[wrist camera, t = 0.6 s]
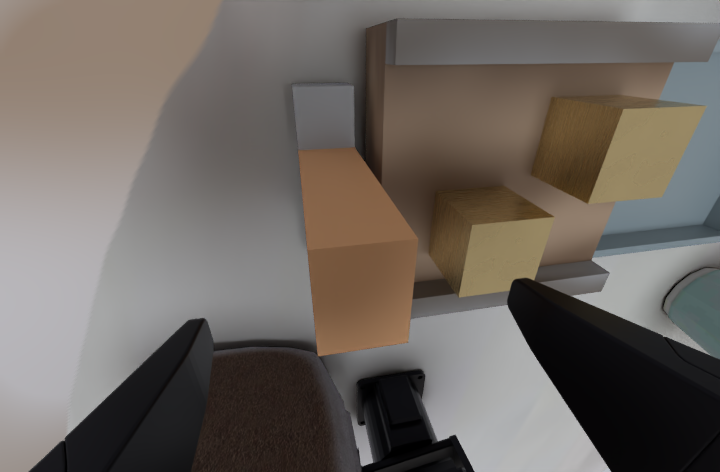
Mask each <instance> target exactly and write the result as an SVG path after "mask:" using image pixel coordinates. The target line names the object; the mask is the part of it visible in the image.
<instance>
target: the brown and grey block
mask: <svg viewBox="0 0 720 472" xmlns="http://www.w3.org/2000/svg"><path fill="white" fill-rule="evenodd" d="M292 92H293V103H294V113H295V123H296V133H297V144H298V154H299V165H300V176H301V186H302V197H303V208H304V219H305V230H306V240H307V251H308V261H309V272H310V282H311V292H312V302H313V312H314V322H315V333H316V343H317V353H318V356H325V355H331V354H338V353H344V352H350V351H357V350H363V349H370V348H376V347H383V346H389V345H396V344H402V343H408V338H409V328H410V318H411V308H412V298H413V288H414V278H415V268H416V258H417V248H418V238H417V236H416V235H415V233H414V232H413V230H412V229H411V227H410V226H409V225H408V223H407V222H406V220H405V219H404V217H403V216H402V215H401V213H400V212H399V210H398V209H397V207H396V206H395V204H394V203H393V202H392V200H391V199H390V197H389V196H388V194H387V193H386V192H385V190H384V189H383V187H382V186H381V184H380V183H379V182H378V180H377V179H376V177H375V176H374V174H373V173H372V171H371V170H370V169H369V167H368V166H367V164H366V163H365V161H364V160H363V159H362V157H361V156H360V154H359V153H358V151H357V150H356V148H355V127H354V86H353V85H351V84H349V83H313V84H292Z"/></svg>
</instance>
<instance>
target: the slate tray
mask: <svg viewBox="0 0 720 472" xmlns="http://www.w3.org/2000/svg"><path fill="white" fill-rule="evenodd" d="M659 100H665V101H673V102H681V103H688V104H696V105H704V106H707V107H706V109H705V111H704V113H703V115H702V117H701V119H700V121H699V123H698V125H697V127H696V129H695V131H694V133H693V135H692V138H691V140H690V142H689V144H688V146H687V148H686V150H685V152H684V154H683V156H682V158H681V160H680V162H679V164H678V166H677V168H676V170H675V172H674V174H673V176H672V178H671V180H670V182H669V184H668V186H667V188H666V190H665V192H664V194H663V196H662V197H659V198H648V199H637V200H627V201H616V202H615V205H614V207H613V210H612V212H611V214H610V217H609V219H608V222H607V224H606V226H605V229H604V231H603V233H602V236H601V238H600V241H599V243H598V245H597V248H596V250H595V252H594V255H593V257H592V258H594V257H602V256H610V255H618V254H627V253H635V252H643V251H651V250H659V249H667V248H675V247H683V246H691V245H699V244H708V243H716V242H720V39H718V42H717V44H716V46H715V48H714V50H713V52H712V54H711V57H710V59H709V61H708V62H674V65H673V67H672V69H671V72H670V74H669V76H668V79H667V81H666V84H665V86H664V88H663V91H662V93H661V95H660V98H659Z"/></svg>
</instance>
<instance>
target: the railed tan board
mask: <svg viewBox="0 0 720 472" xmlns="http://www.w3.org/2000/svg"><path fill="white" fill-rule="evenodd" d="M719 37H720V23H672V22H603V21H534V20H465V19H394V20H391V21H388V22H385V23H382V24H379V25H375V26H372V27H369V28H366V164H367V166H368V167H369V169H370V170H371V171H372V173H373V174H374V176H375V177H376V179H377V180H378V182H379V183H380V184H381V186H382V187H383V189H384V190H385V192H386V193H387V194H388V196H389V197H390V199H391V200H392V202H393V203H394V204H395V206H396V207H397V209H398V210H399V212H400V213H401V215H402V216H403V217H404V219H405V220H406V222H407V223H408V225H409V226H410V227H411V229H412V230H413V232H414V233H415V235H416V236H417V238H418V248H417V258H416V268H415V278H414V288H413V298H412V308H411V318H410V319H412V318H419V317H426V316H433V315H440V314H447V313H454V312H461V311H468V310H475V309H482V308H489V307H496V306H502V305H507V298H508V294H509V291H504V292H496V293H489V294H482V295H474V296H467V297H460V298H458V296H457V295H456V293H455V292H454V290H453V289H452V288H451V286H450V285H449V283H448V282H447V280H446V279H445V277H444V276H443V275H442V273H441V272H440V270H439V269H438V267H437V266H436V265H435V263H434V262H433V260H432V259H431V257H430V256H429V254H428V252H429V244H430V235H431V227H432V219H433V210H434V202H435V194H436V191H441V190H454V189H467V188H480V187H493V186H505V187H507V188H509V189H510V190H512V191H514V192H515V193H517V194H518V195H520V196H522V197H523V198H525V199H527V200H528V201H530V202H531V203H533V204H535V205H536V206H538V207H540V208H541V209H543V210H544V211H546V212H548V213H549V214H551V215H553V216H554V217H555V219H554V222H553V225H552V228H551V231H550V234H549V237H548V240H547V243H546V246H545V249H544V252H543V255H542V258H541V261H540V264H539V267H538V270H537V273H536V276H535V279H534V281H537V282H539V283H541V284H544V285H546V286H548V287H551V288H553V289H555V290H558V291H560V292H562V293H565V294H567V295H569V296H572V295H579V294H586V293H593V292H600V291H602V289H603V287H604V284H605V282H606V280H607V278H608V276H609V274H610V273H609V272H608V271H606V270H605V269H603V268H602V267H600V266H599V265H597V264H596V263H594V262H593V261H591V260H592V257H593V255H594V252H595V250H596V248H597V245H598V243H599V241H600V238H601V236H602V233H603V231H604V229H605V226H606V224H607V222H608V219H609V217H610V214H611V212H612V210H613V207H614V205H615V202H605V203H594V204H587V203H585V202H583V201H581V200H579V199H577V198H575V197H573V196H571V195H569V194H567V193H565V192H563V191H561V190H559V189H557V188H555V187H553V186H551V185H549V184H547V183H545V182H543V181H541V180H539V179H537V178H535V177H533V176H531V172H532V168H533V165H534V161H535V157H536V153H537V150H538V146H539V142H540V138H541V135H542V131H543V127H544V123H545V120H546V116H547V112H548V109H549V105H550V101H551V97H568V96H602V95H625V96H633V97H641V98H649V99H657V100H659V98H660V95H661V93H662V91H663V88H664V86H665V84H666V81H667V79H668V76H669V74H670V72H671V69H672V67H673V65H674V62H708V61H709V59H710V57H711V54H712V52H713V50H714V48H715V46H716V44H717V42H718V39H719Z"/></svg>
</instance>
